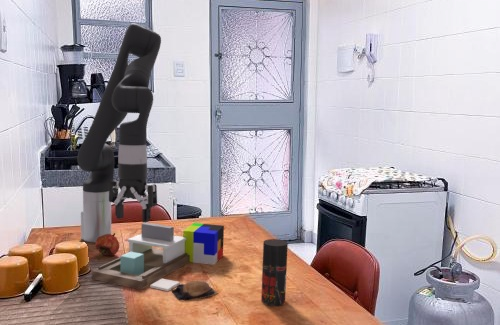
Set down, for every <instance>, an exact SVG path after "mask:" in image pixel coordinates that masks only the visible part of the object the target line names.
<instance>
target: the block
mask: <svg viewBox="0 0 500 325" xmlns="http://www.w3.org/2000/svg"><path fill="white" fill-rule="evenodd" d="M119 258H120V272H123V273H128V274H133V275H138V276H139V275H141V274H143V273H144V254H141V253H136V252H129V251H128V252H127V253H124V254H122V255H120V257H119Z"/></svg>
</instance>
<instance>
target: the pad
mask: <svg viewBox="0 0 500 325" xmlns="http://www.w3.org/2000/svg"><path fill="white" fill-rule="evenodd" d="M178 285H180V281H177V280H171V279H165V278H160V279H159V280H157V281H155V282H153V283H152V284H150V286H149V288H152V289H157V290H160V291H165V292H169V291H172V290H173V289H175V287H176V288H177V286H178Z"/></svg>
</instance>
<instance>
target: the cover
mask: <svg viewBox="0 0 500 325" xmlns="http://www.w3.org/2000/svg"><path fill="white" fill-rule="evenodd" d="M174 228H175V227H174V226H173V225H165V224H157V223H152V222H146V223H145V222H142V223H141V233H140V234H138V235H135V236H133V237H130V238H127V242H128V249H129V250H128V253H129V252H136V253H143V252H145V251H147V250H149V249H152V248H153V247H155V248H159V249H161V248H162V250H163V263H168V262H169V261H171V260H173V259H175V258H177V257H179V256H181V255H183V254H185V241H186V237H183V236H180V235H179V236H178V235H174V232H175V230H174Z"/></svg>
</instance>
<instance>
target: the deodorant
mask: <svg viewBox="0 0 500 325" xmlns="http://www.w3.org/2000/svg"><path fill="white" fill-rule="evenodd" d="M288 243H289V242H287V241H286V240H283V239H277V238H276V239H275V238H270V239H265V240H264V241H263V243H262V244H263V245H262V246H263V247H262V270H261V271H262V275H261V295H260V296H261V298H260V301H261V303H262V304H263V305H266V306H268V307H279V306H282V305H284V304H285V303H286V291H287V290H286V287H287V269H288V268H287V266H288V246H289V244H288Z"/></svg>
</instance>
